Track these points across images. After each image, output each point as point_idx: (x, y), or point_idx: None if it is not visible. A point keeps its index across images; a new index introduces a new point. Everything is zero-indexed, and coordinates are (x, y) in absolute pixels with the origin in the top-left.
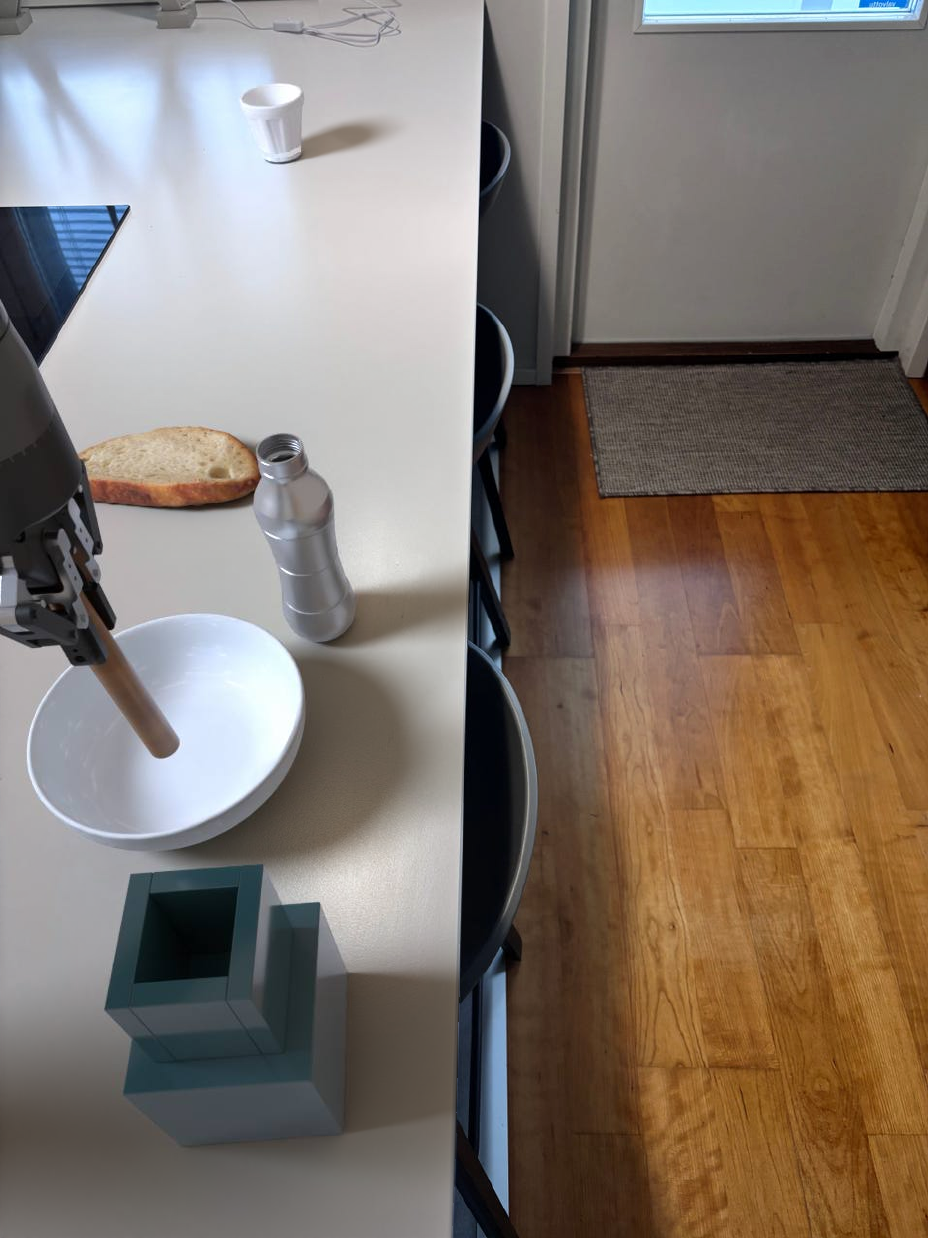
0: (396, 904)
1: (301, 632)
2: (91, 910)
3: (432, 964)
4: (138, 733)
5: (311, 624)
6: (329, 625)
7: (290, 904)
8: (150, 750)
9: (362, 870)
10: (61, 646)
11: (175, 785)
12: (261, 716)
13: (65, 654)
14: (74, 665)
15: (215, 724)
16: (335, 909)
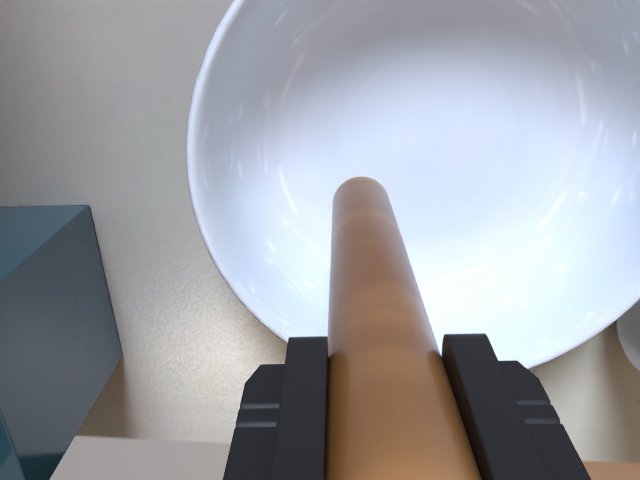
0: (203, 397)
1: (636, 304)
2: (174, 26)
3: (141, 426)
4: (335, 214)
5: (637, 336)
6: (630, 354)
7: (22, 476)
8: (335, 197)
9: (244, 364)
10: (227, 462)
11: (370, 134)
12: (481, 250)
13: (237, 419)
14: (257, 372)
15: (483, 178)
16: (194, 340)
